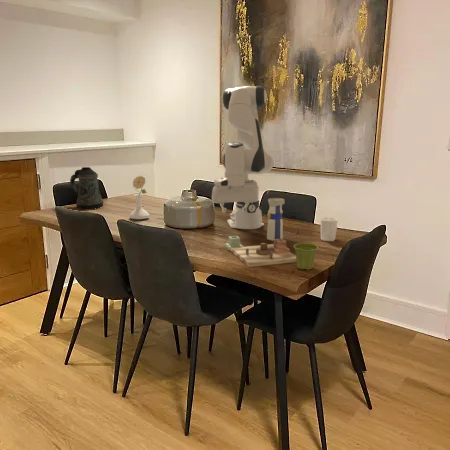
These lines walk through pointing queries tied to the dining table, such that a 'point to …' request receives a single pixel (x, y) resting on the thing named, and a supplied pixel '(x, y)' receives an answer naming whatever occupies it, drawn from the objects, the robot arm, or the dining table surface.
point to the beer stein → (87, 189)
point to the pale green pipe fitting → (233, 242)
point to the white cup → (328, 229)
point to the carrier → (265, 254)
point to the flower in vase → (139, 199)
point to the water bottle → (275, 219)
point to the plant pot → (305, 255)
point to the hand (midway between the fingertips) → (234, 211)
